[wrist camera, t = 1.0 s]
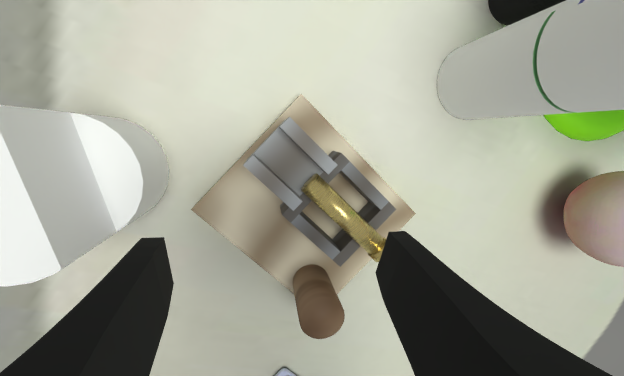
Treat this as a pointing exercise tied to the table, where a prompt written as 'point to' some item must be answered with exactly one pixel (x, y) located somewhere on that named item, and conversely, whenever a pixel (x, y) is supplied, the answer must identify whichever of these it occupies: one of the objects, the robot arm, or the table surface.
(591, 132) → the wineglass
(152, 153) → the base with upright slab
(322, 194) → the pin
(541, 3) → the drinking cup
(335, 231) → the dock
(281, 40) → the table surface
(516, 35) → the cylindrical container
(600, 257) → the decorative fruit
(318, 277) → the peg
